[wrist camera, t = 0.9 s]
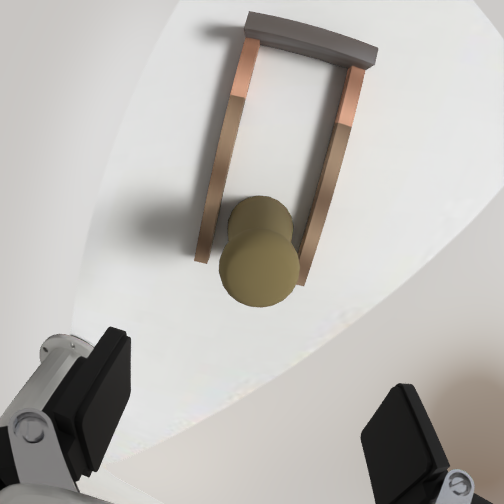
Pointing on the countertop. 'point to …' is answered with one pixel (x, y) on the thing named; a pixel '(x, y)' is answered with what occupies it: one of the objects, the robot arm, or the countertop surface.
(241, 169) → the countertop surface
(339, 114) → the guide channel
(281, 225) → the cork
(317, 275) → the countertop surface
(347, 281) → the countertop surface
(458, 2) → the countertop surface
